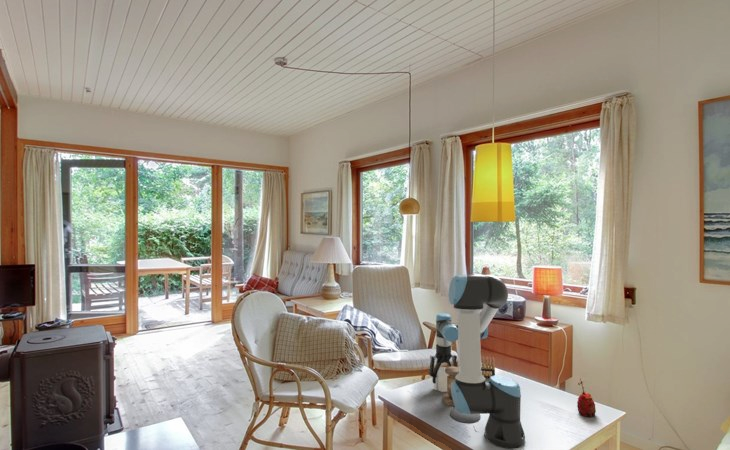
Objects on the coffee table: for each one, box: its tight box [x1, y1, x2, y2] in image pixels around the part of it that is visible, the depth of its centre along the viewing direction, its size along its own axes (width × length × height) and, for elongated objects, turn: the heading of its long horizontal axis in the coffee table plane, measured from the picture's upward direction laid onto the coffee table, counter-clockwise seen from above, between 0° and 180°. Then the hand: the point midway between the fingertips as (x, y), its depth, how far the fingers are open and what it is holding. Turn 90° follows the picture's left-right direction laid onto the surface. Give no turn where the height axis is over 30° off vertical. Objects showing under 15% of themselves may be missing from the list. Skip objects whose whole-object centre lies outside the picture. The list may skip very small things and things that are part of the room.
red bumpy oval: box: [576, 378, 597, 418], centre depth 170 cm, size 8×7×15 cm
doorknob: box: [442, 365, 459, 407], centre depth 181 cm, size 10×10×15 cm
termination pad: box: [449, 407, 481, 424], centre depth 169 cm, size 13×13×1 cm
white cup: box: [436, 366, 449, 393], centre depth 194 cm, size 8×8×10 cm
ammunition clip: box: [481, 355, 496, 380], centre depth 209 cm, size 11×2×12 cm, turn 78°
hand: (443, 388), depth 194 cm, fingers closed on white cup, 7 cm apart
